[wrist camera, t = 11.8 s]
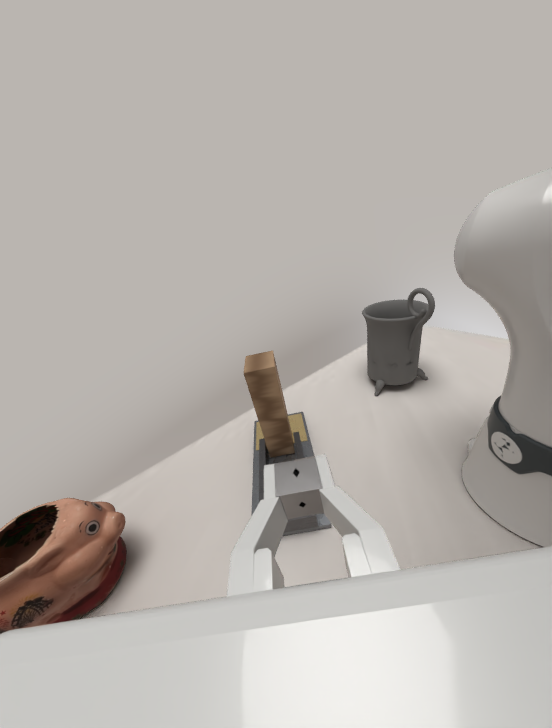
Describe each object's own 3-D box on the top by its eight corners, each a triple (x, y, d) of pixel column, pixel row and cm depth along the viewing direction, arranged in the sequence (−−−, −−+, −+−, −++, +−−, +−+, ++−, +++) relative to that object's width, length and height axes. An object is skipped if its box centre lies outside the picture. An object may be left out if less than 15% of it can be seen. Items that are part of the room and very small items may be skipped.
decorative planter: (-36, 714, 25) (-179, 691, 19) (14, 588, 35) (-68, 545, 29) (152, 585, 32) (96, 535, 26) (150, 510, 42) (109, 460, 35)
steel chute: (303, 414, 56) (301, 402, 54) (331, 528, 34) (329, 513, 32) (255, 424, 56) (251, 412, 54) (252, 542, 34) (245, 528, 32)
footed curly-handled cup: (349, 372, 68) (344, 286, 56) (394, 359, 69) (398, 272, 57) (391, 411, 51) (397, 301, 39) (449, 392, 53) (471, 280, 41)
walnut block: (291, 430, 50) (272, 350, 41) (295, 452, 45) (274, 366, 36) (269, 435, 51) (245, 356, 41) (270, 457, 45) (243, 373, 36)
